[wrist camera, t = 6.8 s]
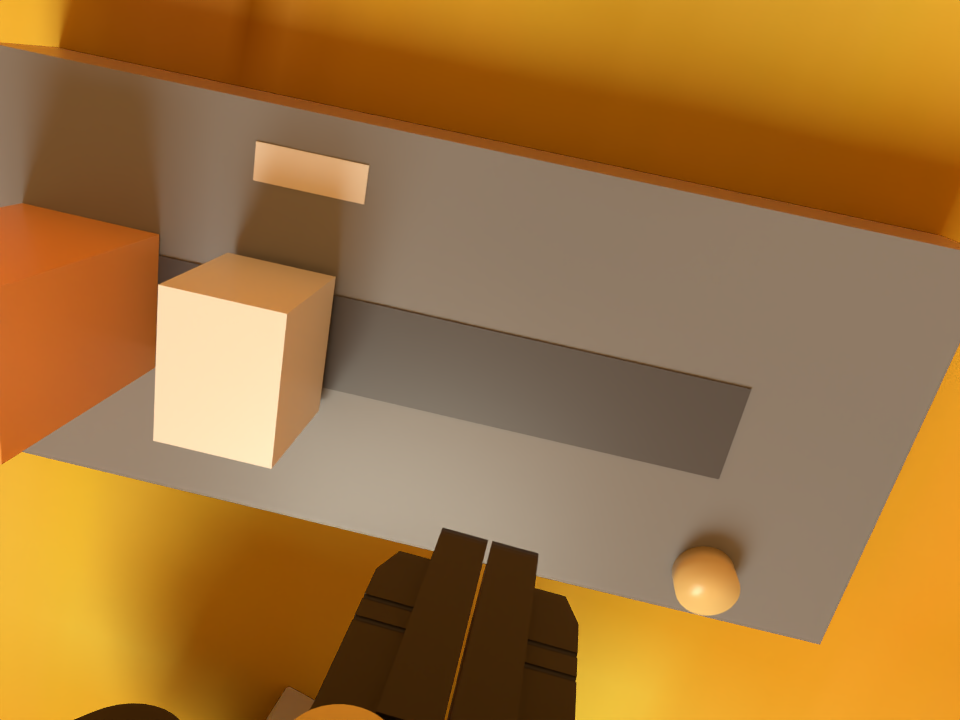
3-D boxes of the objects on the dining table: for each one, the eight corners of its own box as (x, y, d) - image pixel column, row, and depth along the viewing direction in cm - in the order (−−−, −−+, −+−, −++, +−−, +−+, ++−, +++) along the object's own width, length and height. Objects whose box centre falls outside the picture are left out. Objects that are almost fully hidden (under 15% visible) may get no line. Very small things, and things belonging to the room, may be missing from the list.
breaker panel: (940, 235, 20) (1017, 266, 17) (792, 581, 25) (828, 663, 21) (57, 47, 22) (-45, 39, 18) (63, 408, 26) (-18, 458, 22)
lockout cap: (159, 234, 20) (-8, 288, 14) (154, 367, 21) (1, 464, 16) (22, 203, 20) (-195, 244, 15) (27, 336, 22) (-169, 421, 16)
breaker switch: (335, 276, 19) (287, 313, 16) (318, 409, 21) (271, 468, 18) (227, 252, 20) (158, 284, 16) (218, 386, 21) (153, 440, 18)
